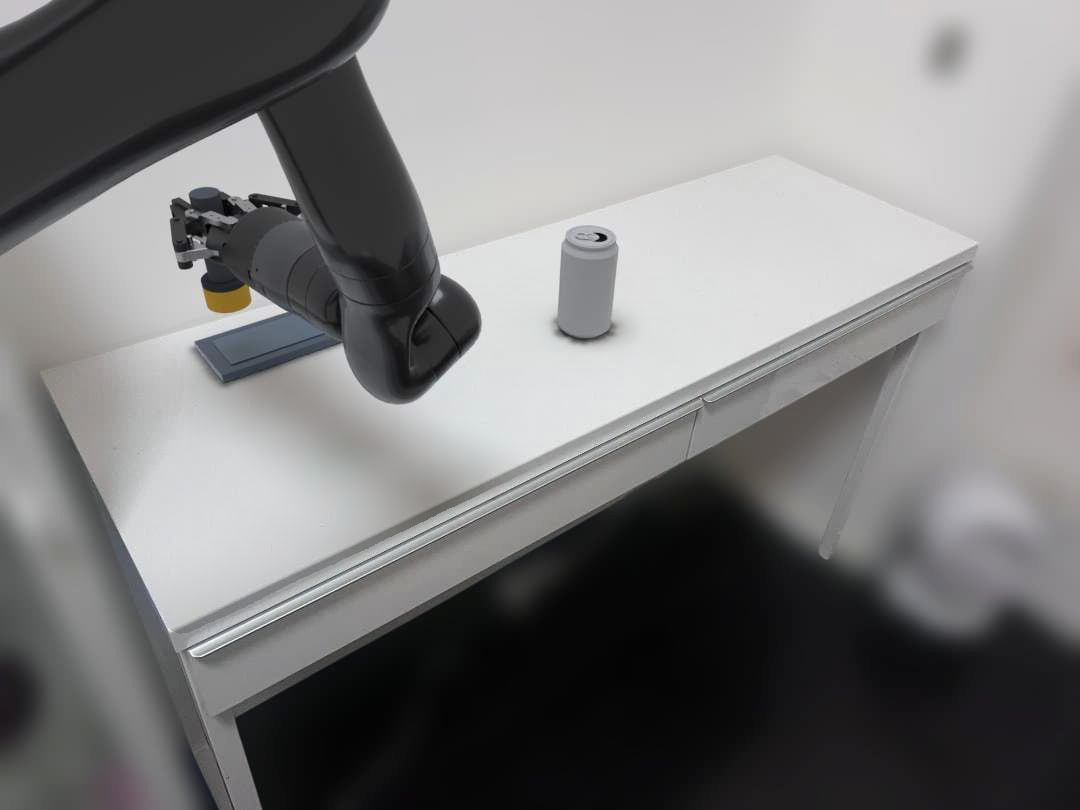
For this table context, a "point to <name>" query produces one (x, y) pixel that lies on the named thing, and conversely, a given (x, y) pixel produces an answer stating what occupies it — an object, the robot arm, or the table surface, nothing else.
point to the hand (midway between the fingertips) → (193, 203)
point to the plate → (261, 345)
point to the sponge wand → (218, 280)
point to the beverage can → (587, 281)
